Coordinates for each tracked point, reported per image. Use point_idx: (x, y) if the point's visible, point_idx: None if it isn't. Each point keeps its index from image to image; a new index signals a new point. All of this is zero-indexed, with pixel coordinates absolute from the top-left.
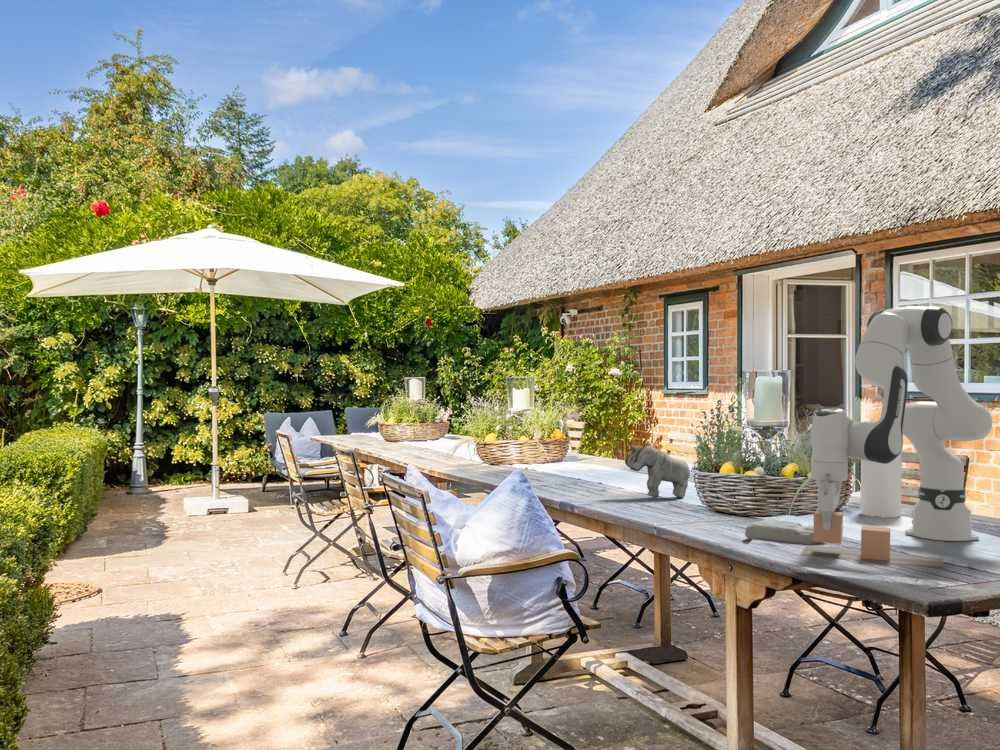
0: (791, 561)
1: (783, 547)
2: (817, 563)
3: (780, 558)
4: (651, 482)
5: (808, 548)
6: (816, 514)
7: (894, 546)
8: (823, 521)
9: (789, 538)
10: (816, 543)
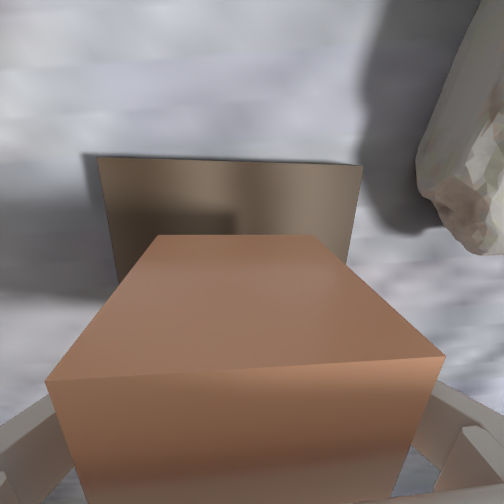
0: (36, 115)
1: (407, 39)
2: (78, 237)
3: (78, 43)
4: None
5: (302, 184)
6: (62, 402)
7: (495, 406)
8: (31, 411)
9: (484, 59)
10: (437, 209)
